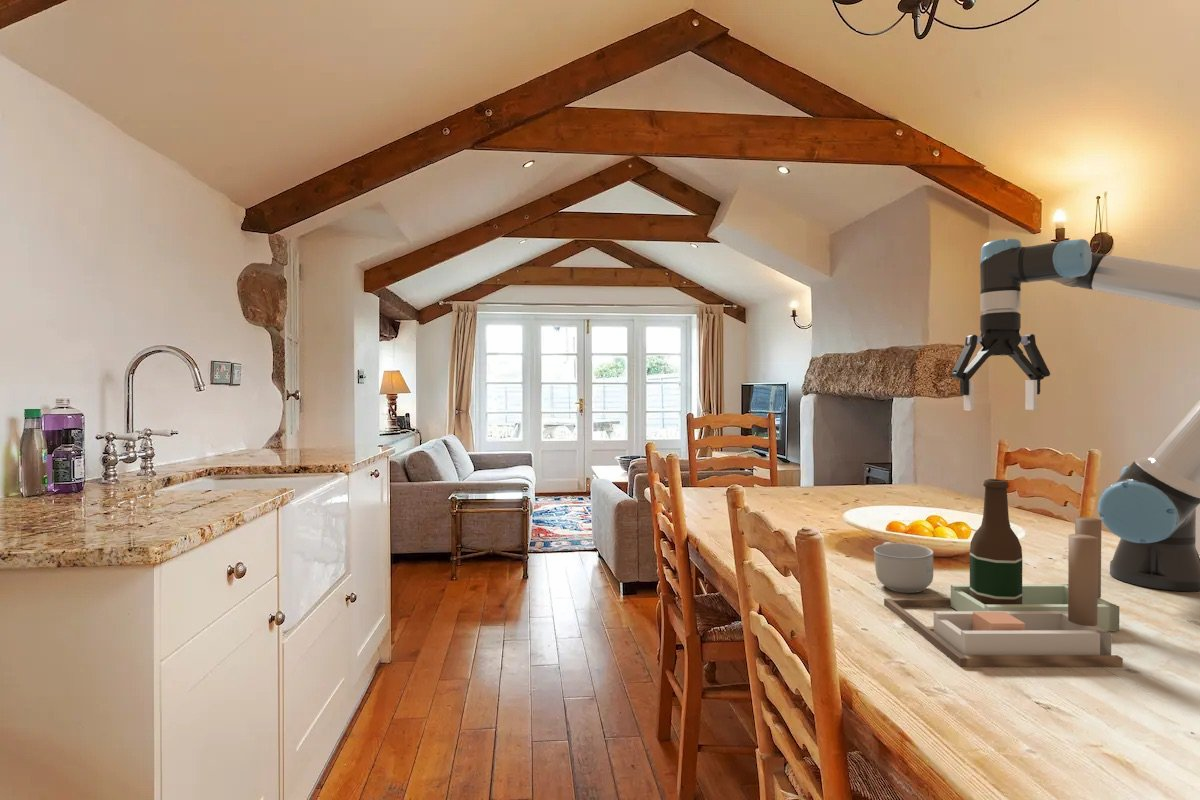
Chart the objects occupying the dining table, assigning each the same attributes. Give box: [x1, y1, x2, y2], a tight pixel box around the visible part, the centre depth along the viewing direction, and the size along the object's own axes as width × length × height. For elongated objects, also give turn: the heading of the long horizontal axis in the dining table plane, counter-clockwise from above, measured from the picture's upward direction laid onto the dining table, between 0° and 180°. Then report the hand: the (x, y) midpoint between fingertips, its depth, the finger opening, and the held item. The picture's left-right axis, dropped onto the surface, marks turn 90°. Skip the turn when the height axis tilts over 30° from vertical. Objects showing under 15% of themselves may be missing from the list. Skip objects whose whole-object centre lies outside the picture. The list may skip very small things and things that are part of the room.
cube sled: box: [933, 533, 1112, 655], centre depth 100 cm, size 22×9×17 cm, turn 89°
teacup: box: [873, 541, 935, 594], centre depth 131 cm, size 14×11×8 cm
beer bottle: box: [969, 478, 1023, 605], centre depth 113 cm, size 8×8×24 cm
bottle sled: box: [950, 516, 1120, 632], centre depth 112 cm, size 22×12×17 cm, turn 89°
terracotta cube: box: [973, 612, 1025, 631], centre depth 100 cm, size 5×5×5 cm
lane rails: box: [883, 597, 1124, 668], centre depth 107 cm, size 23×26×1 cm
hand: (999, 410), depth 143 cm, fingers open, 13 cm apart
